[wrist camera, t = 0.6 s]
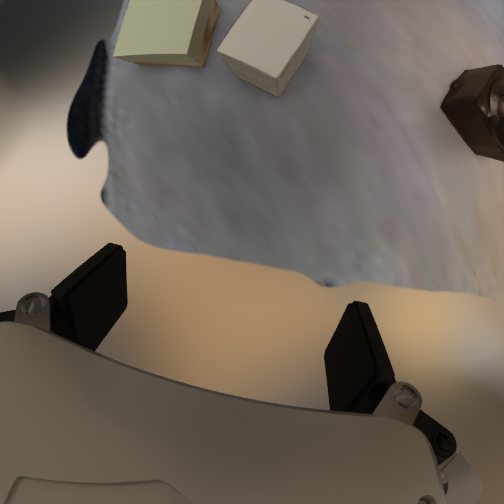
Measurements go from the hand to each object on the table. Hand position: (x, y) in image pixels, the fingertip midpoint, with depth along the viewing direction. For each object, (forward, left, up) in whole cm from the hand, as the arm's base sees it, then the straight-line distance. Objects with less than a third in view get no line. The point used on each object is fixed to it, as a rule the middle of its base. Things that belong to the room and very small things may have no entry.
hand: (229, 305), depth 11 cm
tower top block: (-19, -17, -25) cm, 36 cm away
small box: (-16, -3, -29) cm, 33 cm away
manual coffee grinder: (-19, +27, -29) cm, 44 cm away
